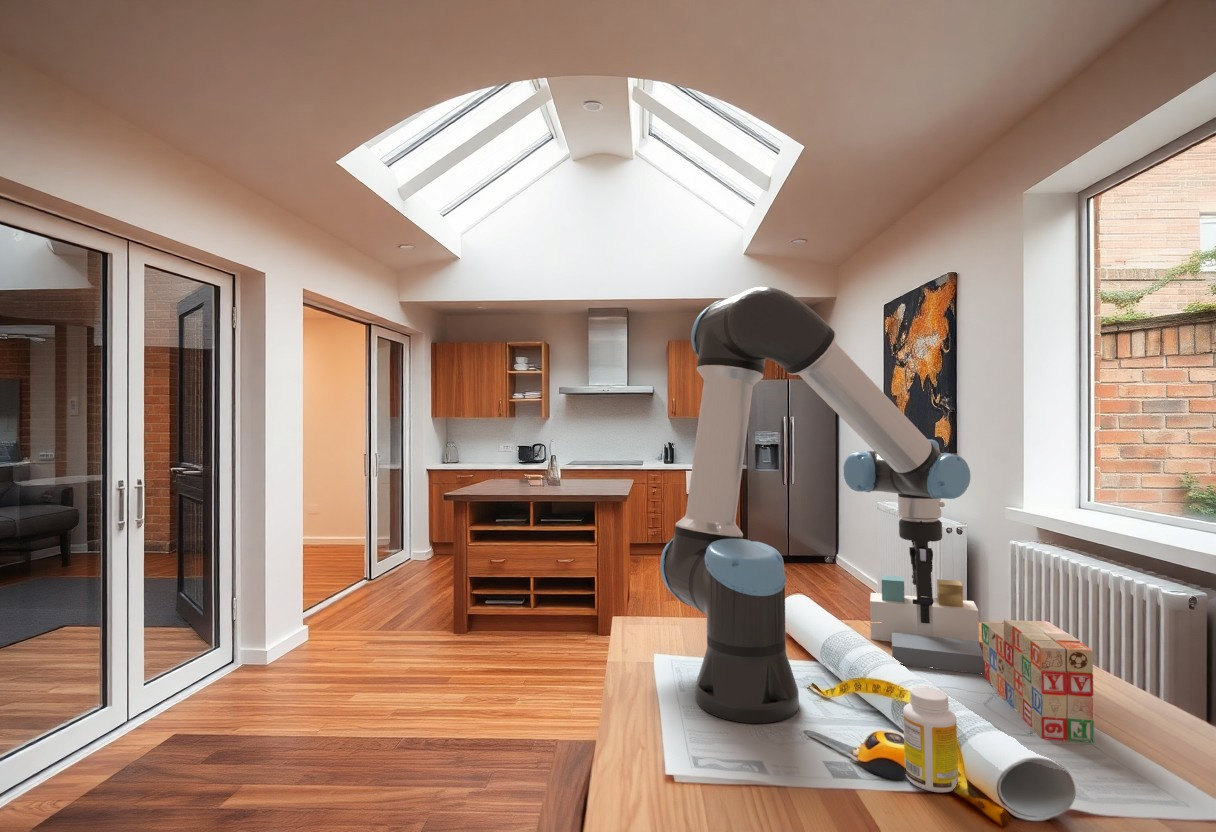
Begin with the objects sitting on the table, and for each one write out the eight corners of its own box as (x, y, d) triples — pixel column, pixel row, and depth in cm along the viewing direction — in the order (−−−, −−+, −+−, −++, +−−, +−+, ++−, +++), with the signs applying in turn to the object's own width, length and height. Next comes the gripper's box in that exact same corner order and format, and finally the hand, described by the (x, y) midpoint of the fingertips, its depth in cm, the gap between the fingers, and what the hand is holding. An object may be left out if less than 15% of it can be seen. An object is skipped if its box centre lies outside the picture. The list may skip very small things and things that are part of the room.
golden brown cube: (939, 605, 122) (938, 584, 122) (937, 600, 125) (937, 579, 126) (963, 607, 120) (962, 585, 120) (960, 601, 124) (960, 581, 124)
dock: (892, 663, 112) (892, 646, 112) (891, 648, 119) (891, 632, 119) (985, 674, 107) (984, 656, 107) (978, 658, 114) (978, 641, 114)
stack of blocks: (982, 678, 106) (980, 602, 106) (1024, 680, 104) (1022, 604, 105) (1042, 740, 85) (1039, 645, 85) (1096, 744, 83) (1093, 648, 84)
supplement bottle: (961, 778, 75) (959, 690, 76) (954, 800, 71) (952, 707, 71) (909, 764, 79) (908, 679, 79) (899, 784, 74) (898, 695, 74)
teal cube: (881, 600, 126) (881, 579, 126) (882, 595, 129) (881, 575, 129) (904, 602, 124) (904, 581, 124) (903, 597, 128) (903, 576, 128)
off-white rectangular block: (870, 639, 125) (870, 601, 125) (871, 629, 131) (870, 592, 132) (979, 651, 118) (978, 610, 118) (974, 640, 124) (973, 601, 124)
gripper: (947, 529, 112) (951, 652, 112) (936, 511, 135) (939, 612, 135) (900, 527, 115) (903, 647, 115) (897, 510, 138) (900, 609, 138)
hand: (923, 628), depth 125 cm, fingers open, 13 cm apart
